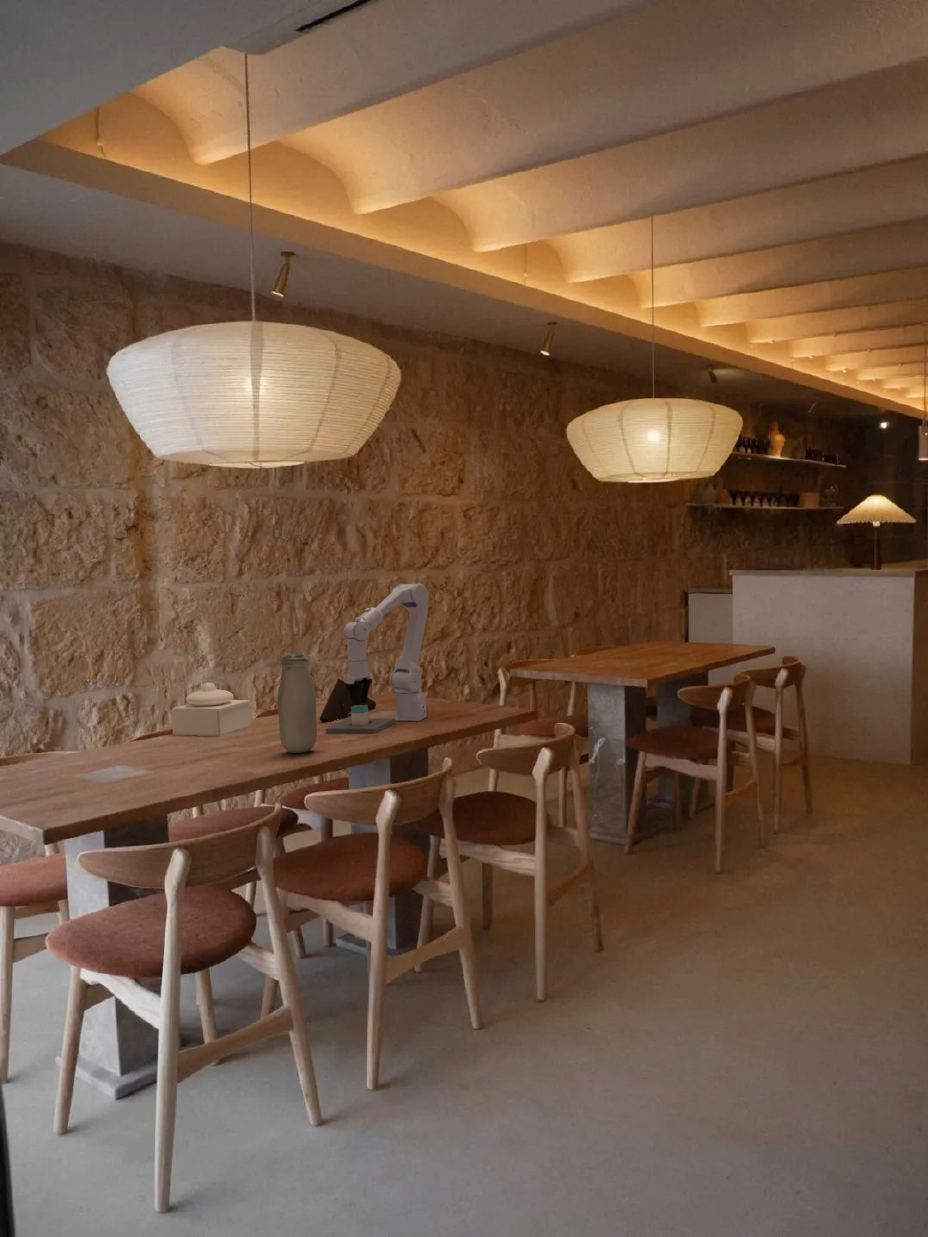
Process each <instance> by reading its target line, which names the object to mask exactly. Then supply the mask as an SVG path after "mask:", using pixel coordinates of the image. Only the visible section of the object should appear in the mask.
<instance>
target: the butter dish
mask: <svg viewBox="0 0 928 1237" xmlns="http://www.w3.org/2000/svg"><path fill="white" fill-rule="evenodd" d="M185 702H187V704H184V705H180V706H176V707H172V709H171V723H172V724H171V725H172V735H173V736H185V735H199V736H198V737H222V736H221V735H223V736H226V735H228V733H229V734H231V733H230V732H232V733H234V732H233V731H235V730H238V729H241V730H243V729H242V728H244V727H247V726H250V725H251V726H252V721H251V720H252V719H251V707H250V703H251V699H234V694H233V693H232V692H231V691H228V690H225V689H217V687H216V685H215V684H214V683H213V682H205V683H203V685H201V689H200V690H198V691H194V692H192V693H190V694H188V695H187V696H185ZM251 726H250V727H251ZM247 728H248V727H247ZM244 729H245V728H244ZM238 731H239V730H238ZM235 732H236V731H235ZM225 734H226V735H225Z"/></svg>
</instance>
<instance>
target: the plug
mask: <svg viewBox="0 0 928 1237" xmlns="http://www.w3.org/2000/svg"><path fill="white" fill-rule="evenodd" d="M350 714H351V718H352V725H368V724H369V721H368V718H369V709H368V705H359V706H352V707H351V712H350Z"/></svg>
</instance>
